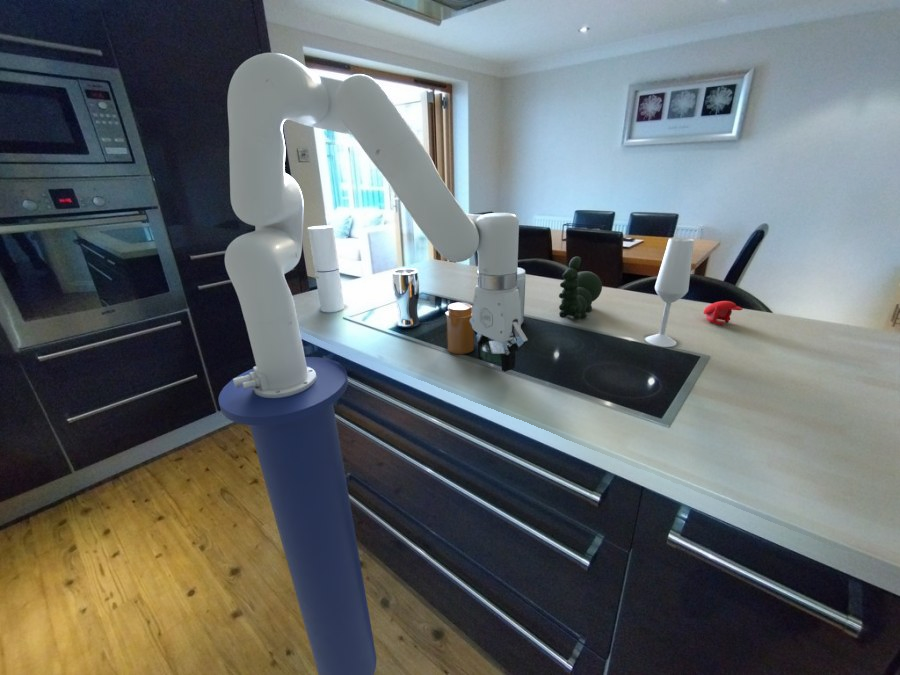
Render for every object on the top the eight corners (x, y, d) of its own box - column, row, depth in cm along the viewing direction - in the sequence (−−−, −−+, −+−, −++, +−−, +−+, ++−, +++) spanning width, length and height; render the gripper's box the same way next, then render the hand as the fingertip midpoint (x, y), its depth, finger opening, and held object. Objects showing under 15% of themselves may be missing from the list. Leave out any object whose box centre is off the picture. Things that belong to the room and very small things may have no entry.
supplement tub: (499, 314, 113) (500, 264, 108) (529, 320, 108) (532, 268, 102) (482, 325, 106) (482, 272, 100) (513, 331, 101) (515, 276, 95)
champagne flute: (656, 348, 90) (677, 242, 80) (639, 336, 96) (657, 237, 86) (683, 345, 90) (707, 240, 81) (664, 334, 97) (684, 236, 87)
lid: (517, 352, 82) (517, 344, 81) (503, 365, 77) (503, 356, 76) (489, 346, 85) (489, 338, 85) (474, 357, 80) (474, 349, 79)
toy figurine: (582, 334, 102) (605, 300, 120) (589, 264, 93) (612, 239, 112) (547, 328, 107) (574, 296, 125) (551, 261, 98) (579, 237, 116)
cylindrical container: (335, 313, 119) (322, 229, 109) (316, 311, 121) (302, 228, 111) (348, 306, 125) (337, 225, 115) (330, 304, 127) (318, 225, 117)
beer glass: (400, 330, 104) (396, 275, 98) (393, 322, 110) (388, 270, 104) (424, 326, 107) (421, 272, 101) (416, 318, 112) (413, 267, 107)
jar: (459, 356, 88) (458, 312, 84) (441, 348, 93) (440, 306, 89) (479, 348, 92) (479, 306, 88) (461, 340, 97) (461, 300, 92)
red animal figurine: (701, 324, 102) (706, 302, 100) (701, 317, 107) (706, 296, 105) (738, 329, 98) (744, 306, 96) (736, 321, 103) (742, 300, 101)
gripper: (454, 275, 79) (456, 354, 86) (516, 293, 66) (513, 385, 73) (482, 269, 83) (482, 345, 90) (545, 285, 70) (539, 372, 77)
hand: (496, 362), depth 82 cm, fingers closed on lid, 6 cm apart
